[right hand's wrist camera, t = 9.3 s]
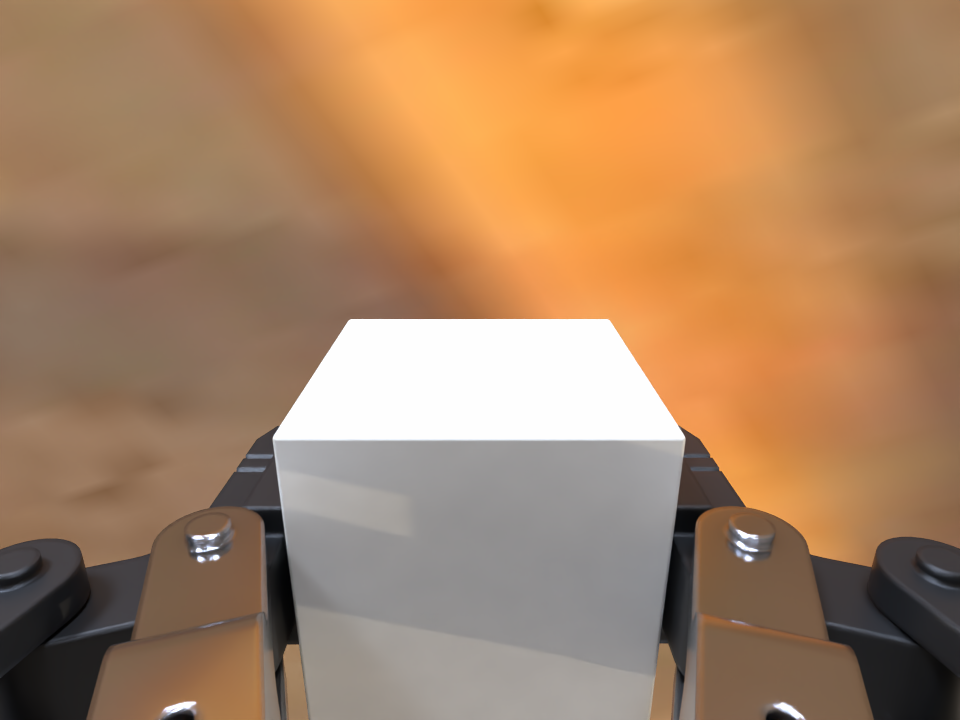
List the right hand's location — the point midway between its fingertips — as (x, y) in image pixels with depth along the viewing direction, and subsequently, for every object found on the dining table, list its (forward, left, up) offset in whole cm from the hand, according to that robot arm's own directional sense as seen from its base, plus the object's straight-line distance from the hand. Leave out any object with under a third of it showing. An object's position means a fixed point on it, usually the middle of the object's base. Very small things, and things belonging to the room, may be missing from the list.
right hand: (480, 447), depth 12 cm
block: (0, 0, 0) cm, 0 cm away
